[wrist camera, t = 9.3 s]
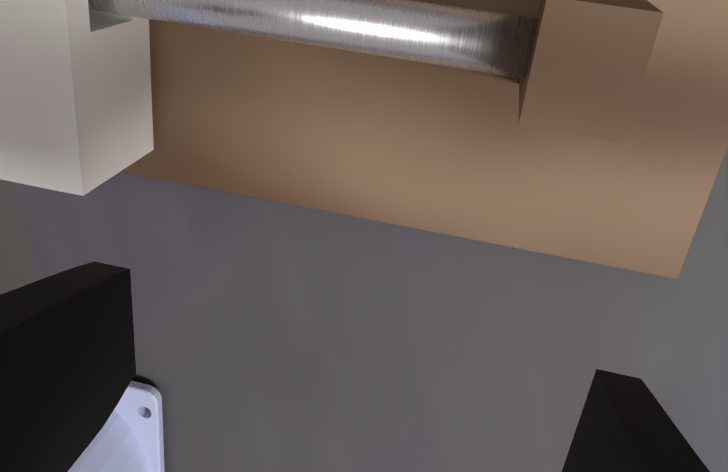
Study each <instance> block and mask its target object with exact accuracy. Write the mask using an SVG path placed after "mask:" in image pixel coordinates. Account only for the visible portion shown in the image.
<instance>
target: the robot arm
mask: <svg viewBox="0 0 728 472" xmlns="http://www.w3.org/2000/svg"><path fill="white" fill-rule="evenodd" d="M135 373H136V364H135V347H134V330H133V313H132V296H131V279H130V269H126V268H122V267H117V266H112V265H108V264H103V263H98V262H92V263H88V264H85V265H81V266H78V267H75V268H72V269H69V270H66V271H63V272H60V273H58V274H55V275H52V276H49V277H47V278H44V279H41V280H39V281H36V282H33V283H31V284H28V285H25V286H23V287H20V288H18V289H15V290H12V291H10V292H7V293H4V294H2V295H0V472H164V445H163V418H162V398H161V394H160V393H159V391H158V390H157V389H156V388H155V387H153V386H150V385H147V384H143V383H139V382H135V381H131V380H132V378H133V377H134V375H135ZM145 407H146V408H148V409H149V410H147V409H146V408H145ZM562 472H710V471H709V470H708V469H707V468H706V466H705V465H704V464H703V462H702V461H701V460H700V458H699V457H698V456H697V454H696V453H695V452H694V450H693V449H692V448H691V446H690V445H689V444H688V442H687V441H686V440H685V438H684V437H683V435H682V434H681V433H680V431H679V430H678V429H677V427H676V426H675V425H674V423H673V422H672V420H671V419H670V418H669V416H668V415H667V414H666V412H665V411H664V409H663V408H662V407H661V405H660V404H659V403H658V401H657V400H656V398H655V397H654V396H653V394H652V393H651V392H650V390H649V389H648V388H647V386H646V385H645V384H644V382H643V381H642V380H641V379H640V378H635V377H630V376H626V375H621V374H616V373H612V372H607V371H602V370H598V369H596V372H595V375H594V378H593V381H592V384H591V387H590V390H589V393H588V396H587V399H586V402H585V405H584V408H583V411H582V414H581V417H580V420H579V423H578V426H577V429H576V431H575V434H574V437H573V440H572V443H571V446H570V449H569V452H568V455H567V458H566V461H565V464H564V467H563V470H562Z"/></svg>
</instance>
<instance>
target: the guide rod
mask: <svg viewBox="0 0 728 472" xmlns="http://www.w3.org/2000/svg"><path fill="white" fill-rule="evenodd" d="M88 6H89V10H94V11H101V12H107V13H113V14H120V15H126V16H132V17H139V18H145V19H151V20H158V21H164V22H170V23H176V24H183V25H189V26H195V27H202V28H208V29H214V30H221V31H227V32H233V33H240V34H246V35H252V36H259V37H265V38H271V39H278V40H284V41H290V42H296V43H303V44H309V45H315V46H322V47H328V48H334V49H341V50H347V51H353V52H360V53H366V54H372V55H379V56H385V57H391V58H398V59H404V60H410V61H417V62H423V63H429V64H435V65H442V66H448V67H454V68H461V69H467V70H473V71H480V72H486V73H492V74H499V75H505V76H511V77H518V78H524V79H525V78H526V75H527V72H528V68H529V64H530V59H531V55H532V51H533V46H534V41H535V36H536V30H537V24H538V19H537V18H530V17H523V16H516V15H509V14H502V13H496V12H489V11H482V10H475V9H468V8H461V7H454V6H448V5H441V4H434V3H427V2H420V1H413V0H88Z"/></svg>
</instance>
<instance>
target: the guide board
mask: <svg viewBox="0 0 728 472" xmlns="http://www.w3.org/2000/svg"><path fill="white" fill-rule="evenodd" d="M413 1H420V2H427V3H434V4H441V5H448V6H454V7H461V8H468V9H475V10H482V11H489V12H496V13H502V14H509V15H516V16H523V17H530V18H537V19H538V24H537V30H536V36H535V41H534V46H533V51H532V55H531V59H530V64H529V68H528V72H527V75H526V78H525V79H524V78H518V77H511V76H505V75H499V74H492V73H486V72H480V71H473V70H467V69H461V68H454V67H448V66H442V65H435V64H429V63H423V62H417V61H410V60H404V59H398V58H391V57H385V56H379V55H372V54H366V53H360V52H353V51H347V50H341V49H334V48H328V47H322V46H315V45H309V44H303V43H296V42H290V41H284V40H278V39H271V38H265V37H259V36H252V35H246V34H240V33H233V32H227V31H221V30H214V29H208V28H202V27H195V26H189V25H183V24H176V23H170V22H164V21H158V20H151V19H149V37H150V64H151V92H152V119H153V146H154V150H152V151H151V152H149V153H148V154H146V155H145V156H143V157H142V158H140V159H139V160H137V161H136V162H134V163H133V164H131V165H129V166H128V167H126V168H125V169H123V170H122V171H121V172H126V173H131V174H136V175H141V176H147V177H152V178H157V179H162V180H167V181H172V182H178V183H183V184H188V185H193V186H198V187H203V188H209V189H214V190H219V191H224V192H229V193H235V194H240V195H245V196H250V197H255V198H260V199H266V200H271V201H276V202H281V203H286V204H292V205H297V206H302V207H307V208H312V209H317V210H323V211H328V212H333V213H338V214H343V215H348V216H354V217H359V218H364V219H369V220H374V221H380V222H385V223H390V224H395V225H400V226H405V227H411V228H416V229H421V230H426V231H431V232H437V233H442V234H447V235H452V236H457V237H462V238H468V239H473V240H478V241H483V242H488V243H494V244H499V245H504V246H509V247H514V248H519V249H525V250H530V251H535V252H540V253H545V254H550V255H556V256H561V257H566V258H571V259H576V260H582V261H587V262H592V263H597V264H602V265H607V266H613V267H618V268H623V269H628V270H633V271H639V272H644V273H649V274H654V275H659V276H664V277H670V278H675V279H678V276H679V273H680V271H681V268H682V266H683V263H684V260H685V258H686V255H687V252H688V250H689V247H690V244H691V242H692V239H693V236H694V234H695V231H696V229H697V226H698V223H699V221H700V218H701V215H702V213H703V210H704V207H705V205H706V202H707V199H708V197H709V194H710V192H711V189H712V186H713V184H714V181H715V178H716V176H717V173H718V170H719V168H720V165H721V162H722V160H723V157H724V155H725V152H726V149H727V147H728V0H413Z"/></svg>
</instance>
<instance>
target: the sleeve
mask: <svg viewBox="0 0 728 472" xmlns="http://www.w3.org/2000/svg"><path fill="white" fill-rule="evenodd" d="M152 150H154V146H153V119H152V92H151V64H150V37H149V19H145V18H139V17H132V16H126V15H120V14H113V13H107V12H101V11H94V10H89V6H88V0H0V179H1V180H6V181H11V182H16V183H21V184H26V185H31V186H36V187H41V188H46V189H51V190H56V191H61V192H66V193H71V194H76V195H81V196H84V195H85V194H87V193H88V192H90V191H91V190H93V189H94V188H96V187H97V186H99V185H100V184H102V183H103V182H105V181H106V180H108V179H110V178H111V177H113V176H114V175H116V174H117V173H119V172H120V171H122V170H123V169H125V168H126V167H128V166H129V165H131V164H133V163H134V162H136V161H137V160H139V159H140V158H142V157H143V156H145V155H146V154H148V153H149V152H151V151H152Z"/></svg>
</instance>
